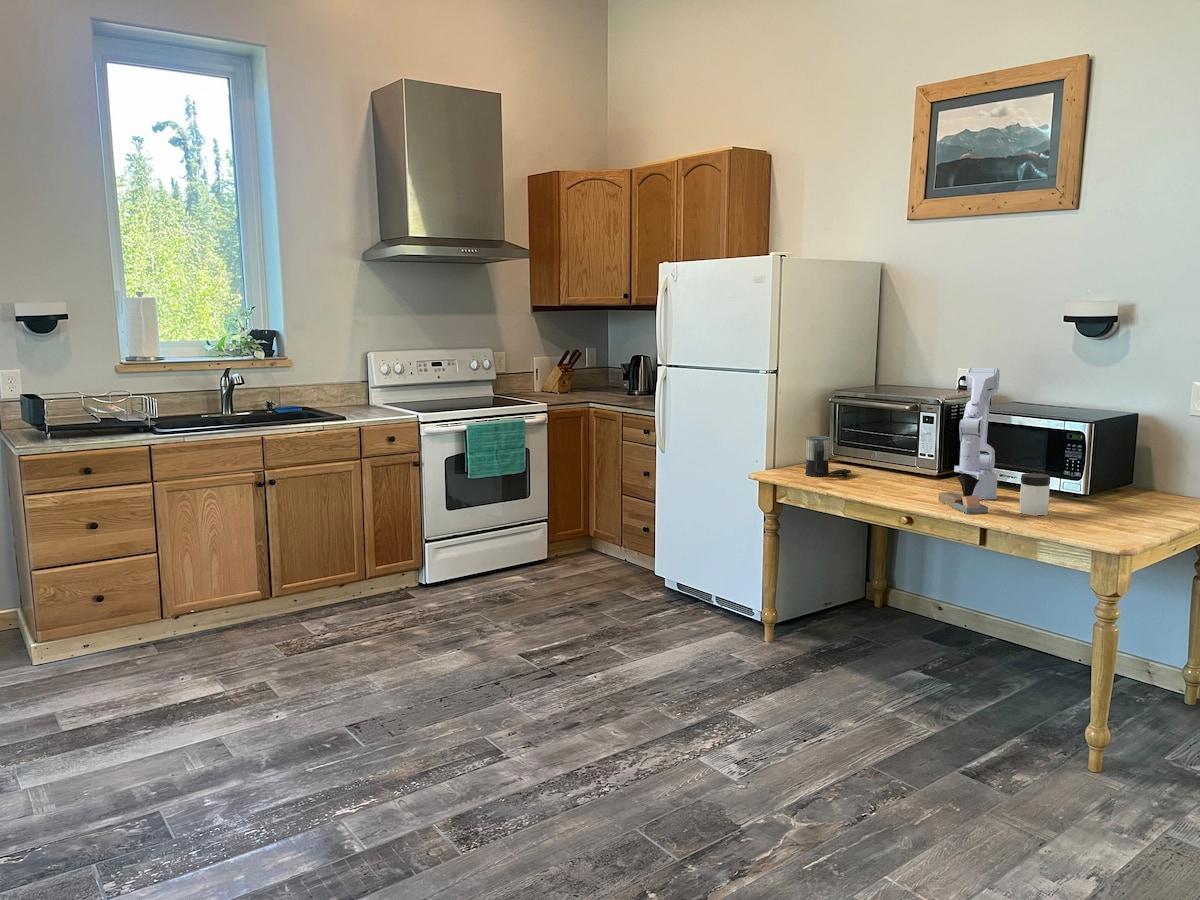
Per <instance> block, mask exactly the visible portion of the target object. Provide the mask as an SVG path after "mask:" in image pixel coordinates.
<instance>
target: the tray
mask: <svg viewBox="0 0 1200 900" xmlns="http://www.w3.org/2000/svg"><path fill="white" fill-rule="evenodd" d="M954 508H955V509H954ZM954 508H953V509H954V510H956V509H957V510H956V511H958V510H960V511H959V512H961V511H962V512H961V513H963V512H964V513H963V514H965V513H966V514H965V515H976V514H975V513H982V514H988V512H989V507H988V506H986V505H984V504H981V503H980V507H965V506H964V505H963V502H958V503H955V506H954Z"/></svg>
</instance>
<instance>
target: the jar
mask: <svg viewBox="0 0 1200 900" xmlns="http://www.w3.org/2000/svg"><path fill="white" fill-rule="evenodd" d="M1050 485H1051V475H1049V474H1045V473H1036V472H1028V473H1026V472H1025V473H1021V476H1020V491H1019V508H1018V509H1019V514H1021V513H1022V514H1021V515H1026V514H1027V516H1032V515H1033V516H1032V517H1039V516H1038V515H1044V516H1048V514H1049V504H1050V503H1049V500H1050V487H1051V486H1050Z"/></svg>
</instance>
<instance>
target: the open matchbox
mask: <svg viewBox="0 0 1200 900" xmlns="http://www.w3.org/2000/svg"><path fill="white" fill-rule="evenodd" d="M962 497H964V496H963V492H960V491H950V492H948V491H946V492H944V491H943V492H938V502H939V501H940V502H939V503H941V502H943V503H945V504H947V505H949V506H948V507H950V506H951V507H950V508H952V507H953V508H952V509H954V506H955V503H958V502H963V500H962ZM943 503H942V504H943ZM945 504H944V505H945ZM947 505H946V506H947Z"/></svg>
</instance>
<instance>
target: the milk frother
mask: <svg viewBox="0 0 1200 900" xmlns="http://www.w3.org/2000/svg"><path fill="white" fill-rule="evenodd" d="M805 439H806V440H805V442H806V443H805V447H806V449H805V453H806V454H805V473H804V475H805V474H806V475H805V476H808V475H809V476H808V477H822V476H823V477H828V476H829V475H831V474H832V475H842V476H843V477H846V476H848V474H851V473H852V470H850V469H847V468H842V469H836V470H833V471H830V470H829V458H830V457H829V456H830V455H829V454H830V453H829V452H830V437H829V436H823V435H811V436H810V435H809V436H805Z"/></svg>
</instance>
